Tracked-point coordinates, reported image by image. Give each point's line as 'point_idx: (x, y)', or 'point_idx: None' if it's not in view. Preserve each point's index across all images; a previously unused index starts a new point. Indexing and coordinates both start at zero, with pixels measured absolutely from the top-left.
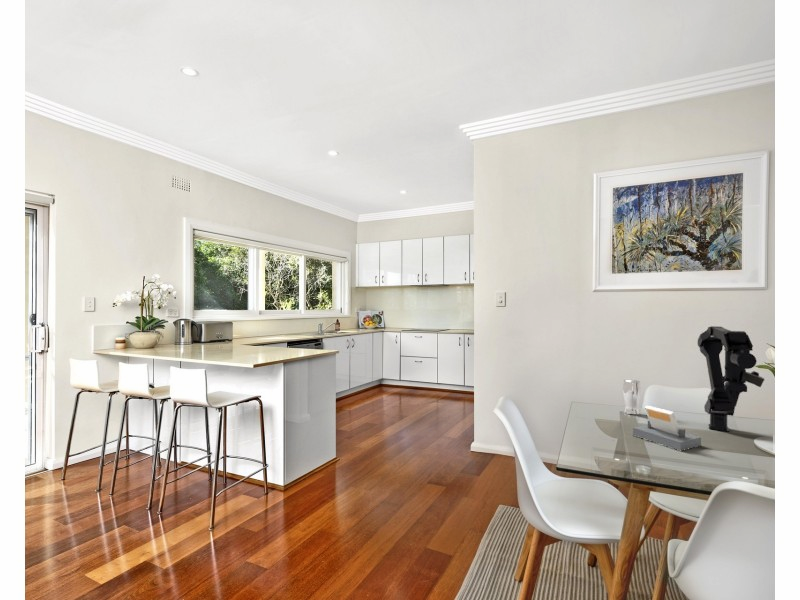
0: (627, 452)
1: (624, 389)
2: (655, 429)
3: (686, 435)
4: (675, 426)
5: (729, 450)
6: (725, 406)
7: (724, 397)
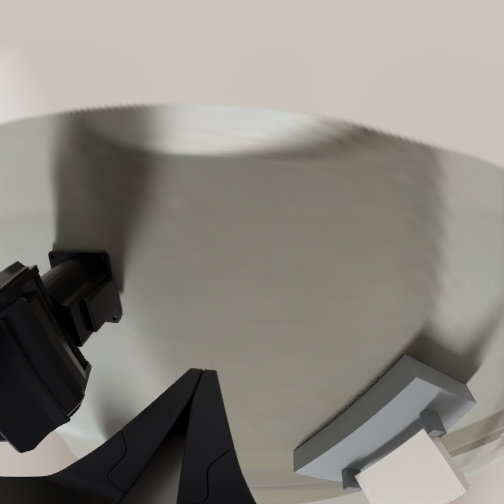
0: (478, 438)
1: None
2: (364, 462)
3: (406, 409)
4: (445, 450)
5: (422, 270)
6: (48, 342)
7: (6, 381)
